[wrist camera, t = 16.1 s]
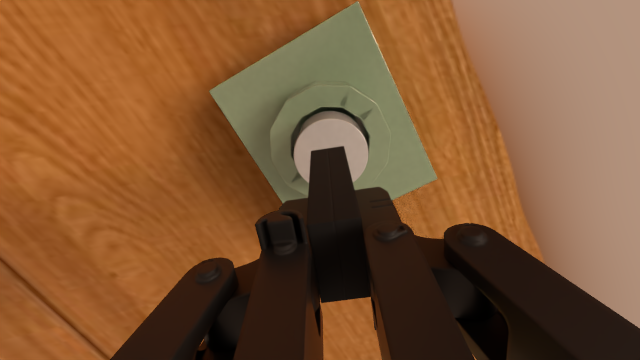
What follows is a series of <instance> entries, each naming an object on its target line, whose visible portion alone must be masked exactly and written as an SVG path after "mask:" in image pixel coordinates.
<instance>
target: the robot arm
mask: <svg viewBox="0 0 640 360" xmlns="http://www.w3.org/2000/svg"><path fill="white" fill-rule="evenodd" d="M255 227H256V231H257V234H258V238H259V242H260V246H261V250H262V251H261V254H260V258H259V259H257V260H256V261H253V262H251V263H249V264H246V265H243V266H240V267H237V268H234V265H233V262H232V261H230V260H229V259H226V258H212V259H208V260H205V261H202V262H201V263H199V264H197V265H195V266H194V267H193V268H191V269H190V270H189V271H188V272H187V273H186V274H185V275H184V276H183V277H182V279H181V280H180V281H179V282H178V283H177V284H176V285H175V286H174V288H173V289H172V290H171V291H170V292H169V293H168V294H167V296H166V297H165V298H164V299H163V300H162V301H161V302H160V303H159V305H158V306H157V307H156V308H155V309H154V310H153V311H152V313H151V314H150V315H149V316H148V317H147V318H146V319H145V320H144V322H143V323H142V324H141V325H140V326H139V327H138V328H137V330H136V331H135V332H134V333H133V334H132V335H131V336H130V337H129V339H128V340H127V341H126V342H125V343H124V344H123V345H122V347H121V348H120V349H119V350H118V351H117V352H116V353H115V354H114V356H113V357H112V358H111V359H110V360H323V317H322V311H321V306H320V298H321V303H325V302H333V301H341V300H349V299H357V298H365V297H371V303H372V311H373V319H374V328H375V330H376V331H377V336H378V341H379V346H380V351H381V356H382V360H475V359H474V357H473V355H474V356H475V358H476V359H477V360H640V328H638V327H637V326H635V325H634V324H632V323H631V322H629V321H628V320H626V319H625V318H623V317H622V316H620V315H619V314H617V313H616V312H614V311H613V310H611V309H610V308H609V307H607V306H605V305H604V304H603V303H601V302H600V301H598V300H597V299H595V298H594V297H592V296H591V295H589V294H588V293H586V292H585V291H583V290H582V289H580V288H579V287H577V286H576V285H574V284H573V283H571V282H570V281H569V280H567V279H566V278H564V277H562V276H561V275H560V274H558V273H557V272H555V271H554V270H552V269H551V268H549V267H548V266H546V265H545V264H543V263H542V262H541V261H539V260H538V259H536V258H535V257H533V256H532V255H530V254H529V253H527V252H526V251H524V250H523V249H521V248H520V247H518V246H517V245H515V244H514V243H512V242H511V241H509V240H508V239H506V238H505V237H504V236H502V235H501V234H499V233H498V232H496V231H495V230H493V229H491V228H489V227H486V226H483V225H479V224H474V223H471V224H469V223H464V224H458V225H454V226H452V227H450V228H448V229H447V230H446V231H445V232H444V239H432V238H424V237H420V236H416V235H414V233H413V231H412V229H411V228H410V227H409V226H408V225H406V224H404V223H402V222H401V219H400V217H399V215H398V213H397V211H396V208H395V206H394V205H393V202H392V200H391V198H390V195H389V193H388V191H386V190H384V189H383V188H381V187H380V186H379V187H372V188H365V189H358V190H355V189H354V185H353V181H352V177H351V173H350V169H349V165H348V161H347V156H346V152H345V148H344V146H340V147H333V148H326V149H320V150H313V151H311V158H310V174H309V191H308V198H302V199H295V200H287V201H285V202H284V203H283V204H282V205H281V207H280V208H279V211H274V212H271V213H269V214H266V215H264V216H263V217H261V218H260V219H259V220H258V221H257V222H256V224H255ZM203 339H204V341H203ZM202 341H203V342H202ZM201 342H202V344H201ZM200 344H201V345H200ZM472 354H473V355H472Z"/></svg>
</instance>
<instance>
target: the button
mask: <svg viewBox="0 0 640 360" xmlns="http://www.w3.org/2000/svg"><path fill="white" fill-rule="evenodd" d="M340 146H344V148H345V152H346V156H347V161H348V165H349V169H350V173H351V177H352V181H353V182H354V181H356V180H357V179H358V178H359V177H360V175H361V174H362V173H363V171H364V170H365V167H366V165H367V161H368V146H367V142H366V140H365V138H364V135H363V133H362V131H361V129H360V127H359V126H358V124H357V123H356V122H355V121H354V120H353V119H352V118H351V117H349V116H348V115H346V114H344V113H341V112H337V111H324V112H320V113H317V114H315V115H313V116H311V117H310V118H308V119H307V120H306V121H305V122H304V123H303V125H302V126H301V127H300V129H299V131H298V134H297V138H296V142H295V147H294V162H295V166H296V168H297V170H298V172H299V174H300V175H301V176H302V177H303V178H304V180H306V181H307V182H308V183H309V174H310V158H311V151H313V150H320V149H326V148H333V147H340Z"/></svg>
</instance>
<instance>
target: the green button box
mask: <svg viewBox="0 0 640 360" xmlns="http://www.w3.org/2000/svg"><path fill="white" fill-rule="evenodd" d="M209 93H210V94H211V96H212V97H213V99H214V100H215V102H216V103H217V105H218V106H219V108H220V109H221V111H222V112H223V114H224V115H225V117H226V118H227V120H228V121H229V123H230V124H231V126H232V127H233V129H234V130H235V132H236V133H237V135H238V136H239V138H240V139H241V141H242V143H243V144H244V146H245V147H246V149H247V150H248V152H249V153H250V155H251V156H252V158H253V159H254V161H255V162H256V164H257V165H258V167H259V168H260V170H261V171H262V173H263V174H264V176H265V177H266V179H267V180H268V182H269V183H270V185H271V186H272V188H273V189H274V191H275V192H276V194H277V196H278V197H279V199H280V200H281V202H282V203H284V202H285V201H287V200H295V199H302V198H308V191H309V183H308V182H307V181H306V180H304V178H303V177H302V176H301V175H300V174H299V172H298V170H297V168H296V166H295V162H294V147H295V142H296V138H297V134H298V131H299V129H300V127H301V126H302V125H303V123H304V122H305V121H306V120H307V119H308V118H310V117H311V116H313V115H315V114H317V113H320V112H324V111H337V112H341V113H344V114H346V115H348V116H349V117H351V118H352V119H353V120H354V121H355V122H356V123H357V124H358V126H359V127H360V129H361V131H362V133H363V135H364V138H365V140H366V142H367V146H368V161H367V165H366V167H365V170H364V171H363V173H362V174H361V175H360V177H359V178H358V179H357V180H356V181H354V182H353V185H354V189H355V190H358V189H365V188H372V187H379V186H380V187H381V188H383V189H384V190H386V191H388V193H389V195H390V198H391V200H394V199H396V198H398V197H400V196H402V195H404V194H406V193H409V192H411V191H413V190H415V189H417V188H419V187H421V186H423V185H426V184H428V183H430V182H432V181H434V180H436V179H437V176H436V174H435V172H434V169H433V167H432V165H431V163H430V160H429V158H428V156H427V154H426V152H425V149H424V147H423V145H422V143H421V140H420V138H419V136H418V134H417V131H416V129H415V127H414V125H413V122H412V120H411V118H410V116H409V113H408V111H407V109H406V107H405V104H404V102H403V100H402V98H401V96H400V93H399V91H398V89H397V87H396V84H395V82H394V80H393V78H392V75H391V73H390V71H389V69H388V66H387V64H386V62H385V60H384V57H383V55H382V53H381V51H380V48H379V46H378V44H377V42H376V40H375V37H374V35H373V33H372V31H371V28H370V26H369V24H368V22H367V19H366V17H365V15H364V13H363V10H362V8H361V6H360V4H359V2H358V1H357V2H355V3H353V4H352V5H350V6H348V7H347V8H345V9H343V10H342V11H340V12H339V13H337V14H335V15H334V16H332V17H330V18H329V19H327V20H325V21H324V22H322V23H320V24H319V25H317V26H315V27H314V28H312V29H310V30H309V31H307V32H305V33H304V34H302V35H300V36H299V37H297V38H295V39H294V40H292V41H290V42H289V43H287V44H285V45H284V46H282V47H280V48H279V49H277V50H275V51H274V52H272V53H270V54H269V55H267V56H265V57H264V58H262V59H260V60H259V61H257V62H256V63H254V64H252V65H251V66H249V67H247V68H246V69H244V70H242V71H241V72H239V73H237V74H236V75H234V76H232V77H231V78H229V79H227V80H226V81H224V82H222V83H221V84H219V85H217V86H216V87H214V88H212V89H211V90H209Z"/></svg>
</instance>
